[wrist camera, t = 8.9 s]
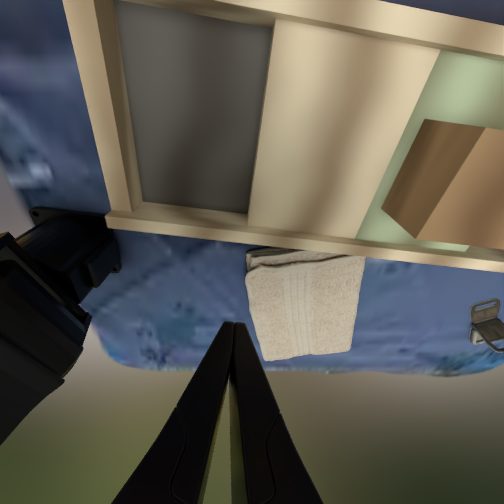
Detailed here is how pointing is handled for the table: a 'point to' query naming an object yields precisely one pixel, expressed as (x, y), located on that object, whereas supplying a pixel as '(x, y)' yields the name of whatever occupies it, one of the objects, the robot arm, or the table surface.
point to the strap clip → (486, 324)
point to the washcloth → (303, 300)
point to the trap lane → (278, 116)
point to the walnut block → (451, 186)
